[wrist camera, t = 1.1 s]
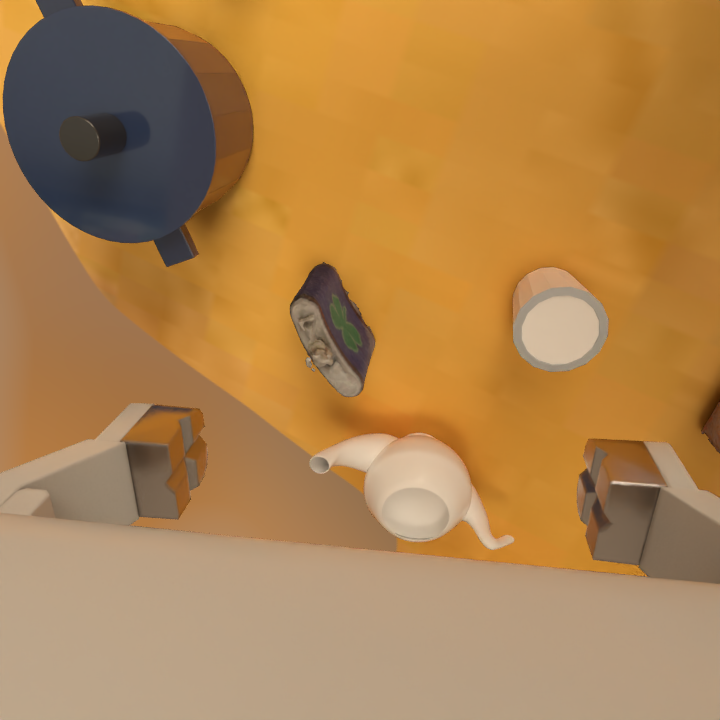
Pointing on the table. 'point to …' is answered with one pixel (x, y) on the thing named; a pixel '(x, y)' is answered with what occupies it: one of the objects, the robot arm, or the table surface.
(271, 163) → the table surface
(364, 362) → the flask
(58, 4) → the pot
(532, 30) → the table surface
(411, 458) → the teapot
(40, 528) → the robot arm
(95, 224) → the pot lid
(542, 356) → the tan cup
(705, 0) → the table surface
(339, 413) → the table surface
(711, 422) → the food item
